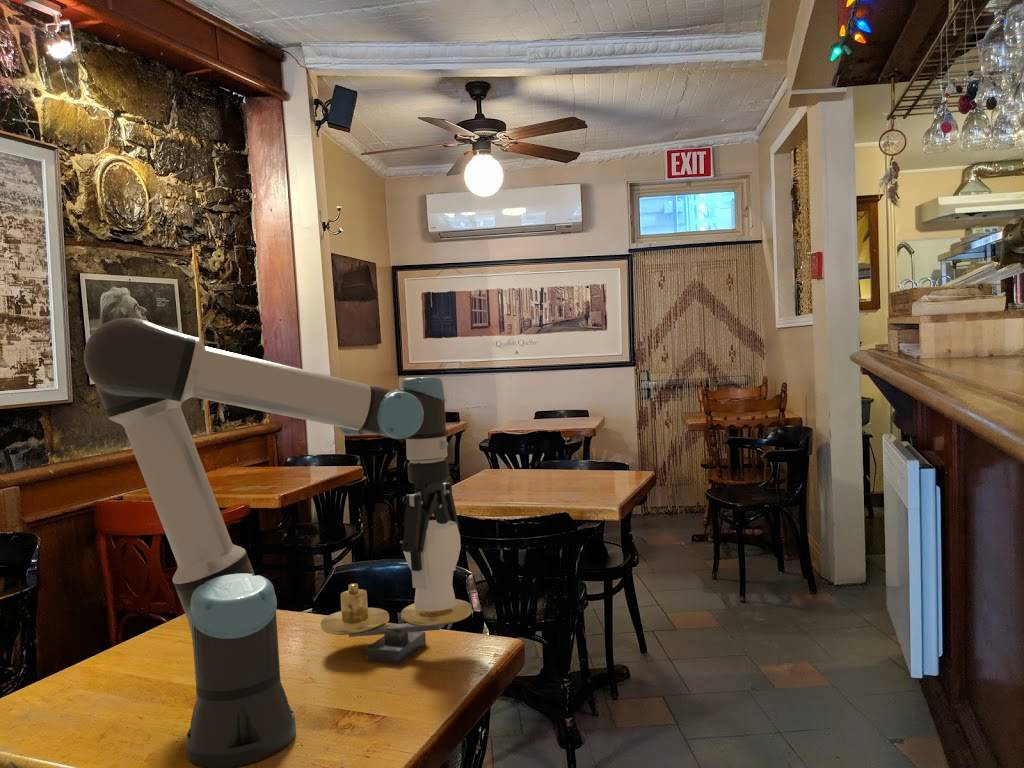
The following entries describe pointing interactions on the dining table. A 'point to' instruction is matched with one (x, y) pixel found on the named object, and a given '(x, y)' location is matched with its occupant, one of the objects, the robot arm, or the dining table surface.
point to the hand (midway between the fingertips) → (435, 578)
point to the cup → (438, 566)
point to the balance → (397, 637)
